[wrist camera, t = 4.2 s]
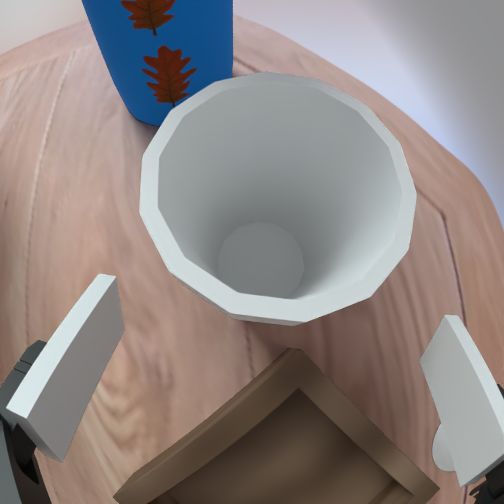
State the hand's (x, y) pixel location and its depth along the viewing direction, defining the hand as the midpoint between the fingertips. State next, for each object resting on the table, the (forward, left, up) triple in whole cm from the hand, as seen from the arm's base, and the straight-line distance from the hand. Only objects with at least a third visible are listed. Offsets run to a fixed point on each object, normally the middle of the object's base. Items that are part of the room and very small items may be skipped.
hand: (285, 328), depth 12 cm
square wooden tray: (+9, -7, -10) cm, 15 cm away
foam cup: (-4, +3, -10) cm, 11 cm away
